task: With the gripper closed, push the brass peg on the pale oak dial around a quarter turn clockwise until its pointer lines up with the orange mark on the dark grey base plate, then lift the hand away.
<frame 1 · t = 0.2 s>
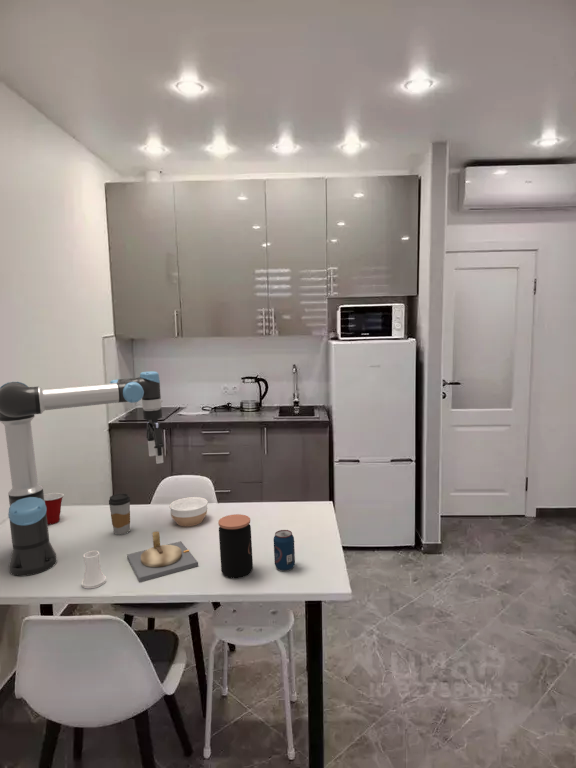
hand: (156, 459, 213), 28 cm above the table, tool pointing down, fingers open, 13 cm apart
vase: (94, 583, 168), on the table
plastic cup: (52, 522, 223), on the table
bowl: (189, 521, 217), on the table
coffee cup: (122, 532, 209), on the table
coffee jar: (237, 572, 172), on the table
dial base: (161, 562, 181), on the table
soda can: (285, 567, 173), on the table
dial: (160, 548, 180), point 5 cm above the table, hinge at 0.0°
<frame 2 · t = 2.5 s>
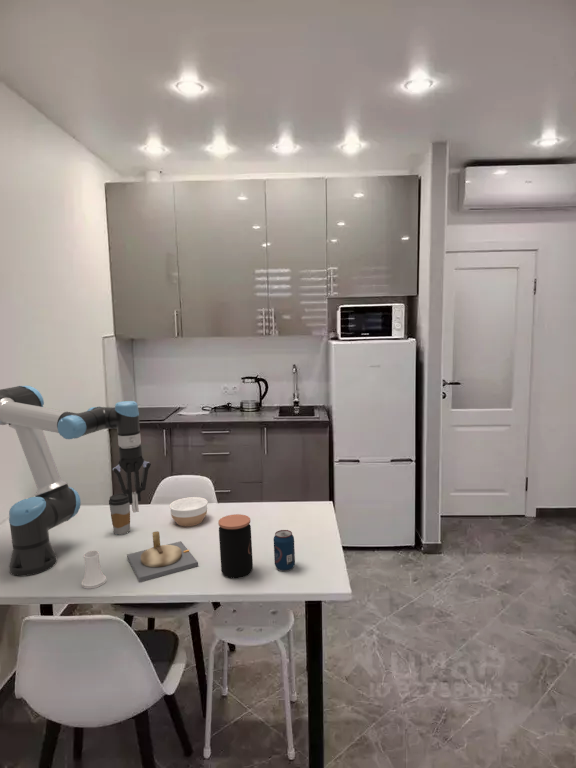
hand: (135, 510, 181), 18 cm above the table, tool pointing down, fingers closed
nothing on the table moved.
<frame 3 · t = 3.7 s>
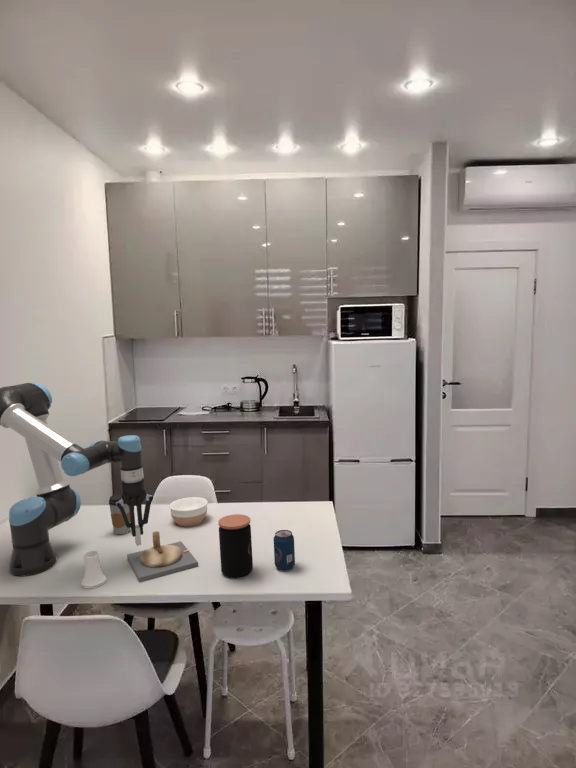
hand: (138, 543, 182), 6 cm above the table, tool pointing down, fingers closed
nothing on the table moved.
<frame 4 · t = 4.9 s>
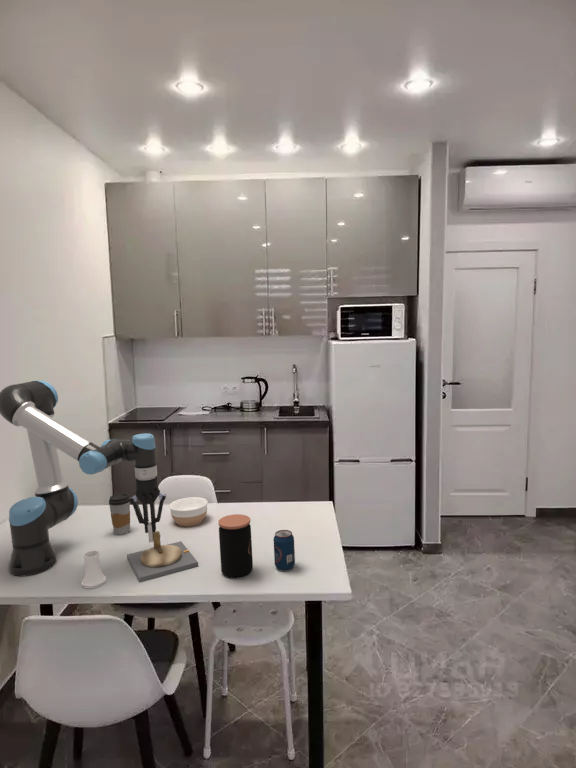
hand: (151, 540, 184), 6 cm above the table, tool pointing down, fingers closed
dial: (160, 548, 180), point 5 cm above the table, hinge at -1.3°, touching gripper
everything else where it was.
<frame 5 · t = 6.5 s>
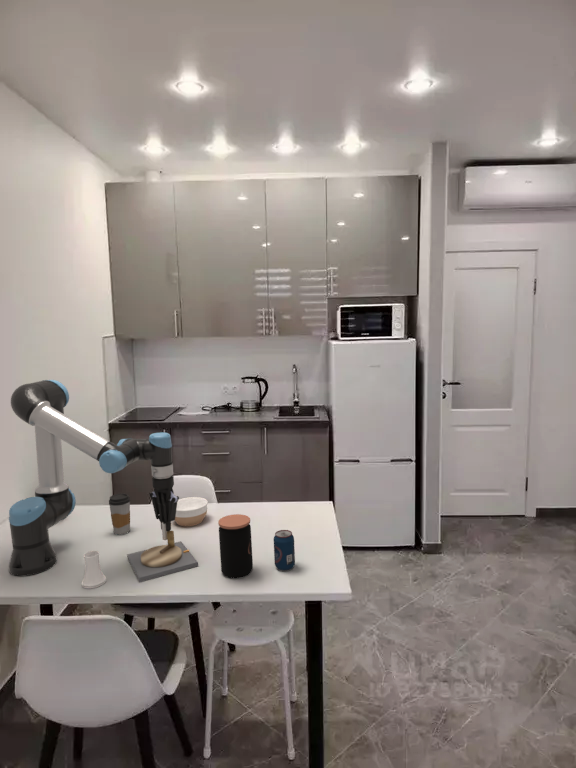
hand: (166, 538, 186), 6 cm above the table, tool pointing down, fingers closed
dial: (161, 548, 180), point 5 cm above the table, hinge at -51.1°, touching gripper
everything else where it was.
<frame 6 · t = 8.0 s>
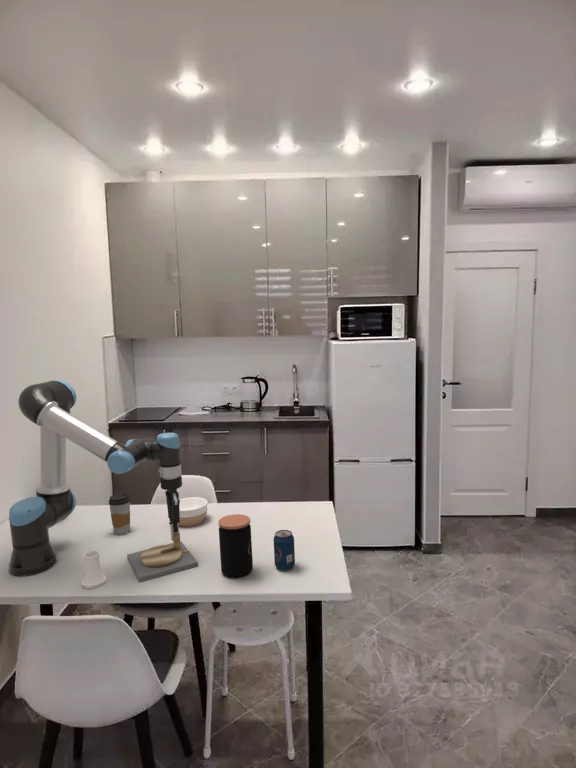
hand: (175, 539, 185), 6 cm above the table, tool pointing down, fingers closed
dial: (161, 548, 180), point 5 cm above the table, hinge at -84.6°
everything else where it was.
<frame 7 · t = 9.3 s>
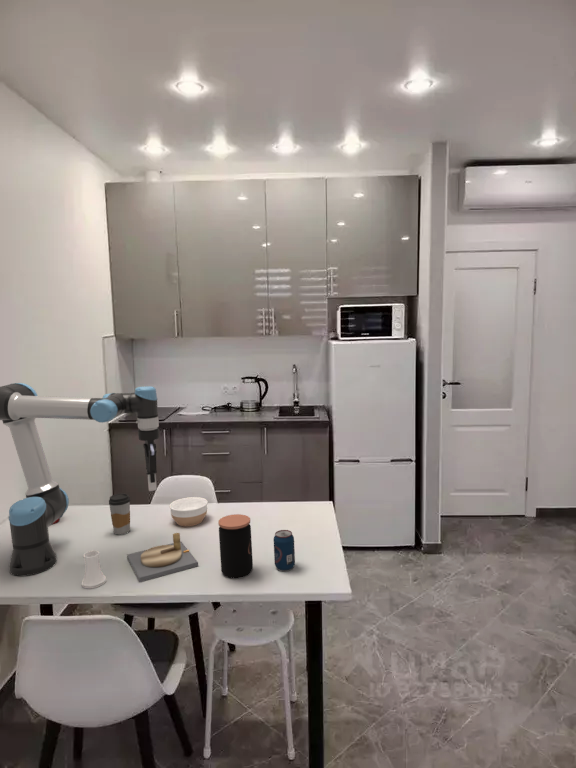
hand: (152, 490, 192), 22 cm above the table, tool pointing down, fingers closed
nothing on the table moved.
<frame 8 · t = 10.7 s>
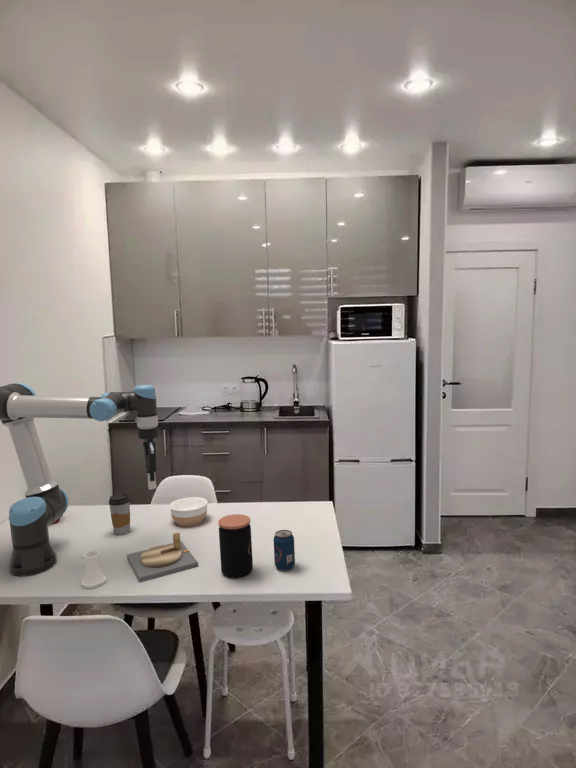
hand: (152, 488, 192), 22 cm above the table, tool pointing down, fingers closed
nothing on the table moved.
at the end: dial at -85° (first picture: +0°); vase moved 0.3 cm from its start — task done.
